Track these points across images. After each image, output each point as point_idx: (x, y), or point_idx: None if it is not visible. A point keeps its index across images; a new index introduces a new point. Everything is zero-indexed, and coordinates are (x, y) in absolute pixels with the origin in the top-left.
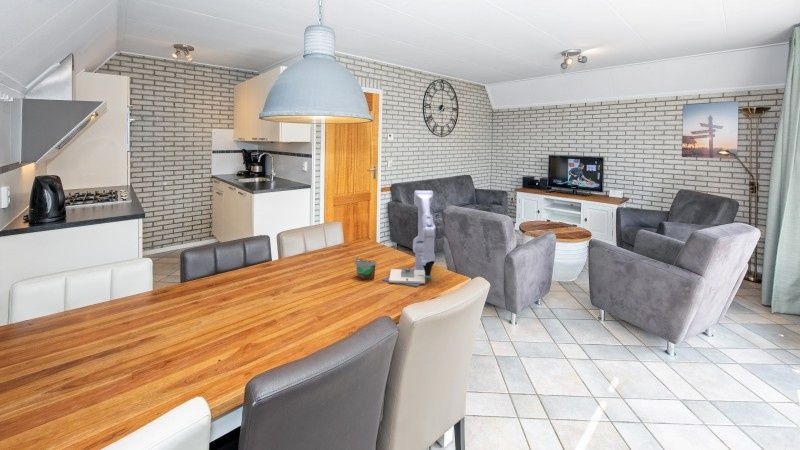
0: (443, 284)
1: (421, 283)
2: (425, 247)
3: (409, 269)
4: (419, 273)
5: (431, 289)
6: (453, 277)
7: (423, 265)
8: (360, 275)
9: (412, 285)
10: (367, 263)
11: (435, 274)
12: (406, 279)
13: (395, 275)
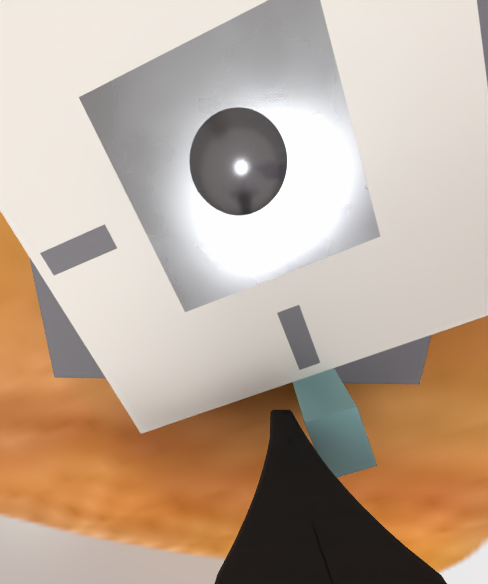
0: (249, 505)
1: None
2: None
3: (222, 211)
4: (363, 298)
5: (101, 469)
6: (437, 520)
7: (232, 557)
8: None
9: (48, 333)
10: None
11: (477, 391)
12: (75, 243)
13: (126, 4)
